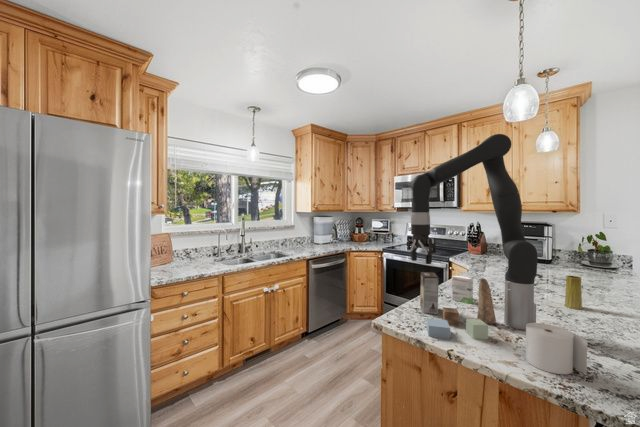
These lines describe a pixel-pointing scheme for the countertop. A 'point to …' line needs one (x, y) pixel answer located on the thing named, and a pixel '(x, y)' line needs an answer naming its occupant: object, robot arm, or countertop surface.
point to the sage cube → (476, 329)
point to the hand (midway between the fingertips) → (421, 262)
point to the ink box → (462, 289)
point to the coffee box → (429, 292)
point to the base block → (438, 328)
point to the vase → (573, 292)
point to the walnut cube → (451, 316)
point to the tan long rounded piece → (485, 303)
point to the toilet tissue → (555, 349)
